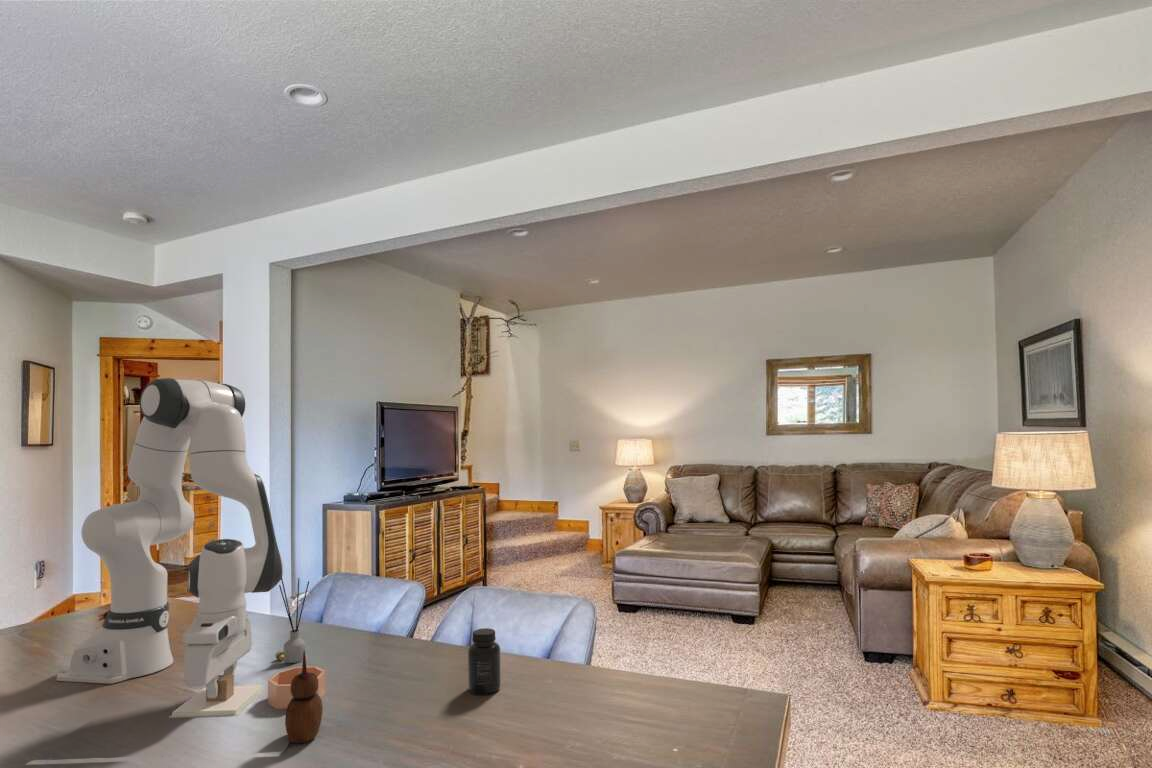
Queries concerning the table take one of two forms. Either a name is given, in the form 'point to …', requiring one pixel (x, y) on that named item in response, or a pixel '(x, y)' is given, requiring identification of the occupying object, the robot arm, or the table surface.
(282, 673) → the bowl
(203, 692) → the lid
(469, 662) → the supplement bottle
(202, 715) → the mat
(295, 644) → the reed diffuser
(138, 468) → the robot arm
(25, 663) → the table surface
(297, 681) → the wooden figurine
